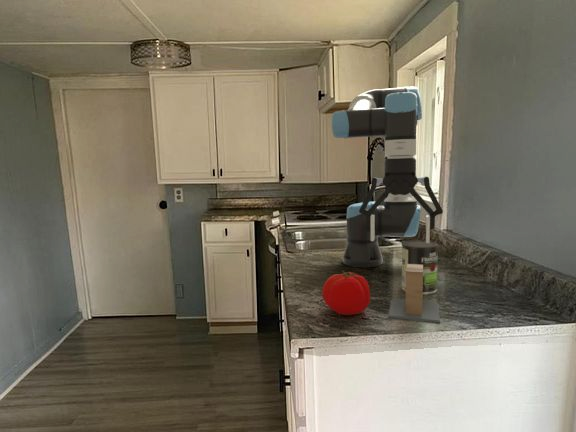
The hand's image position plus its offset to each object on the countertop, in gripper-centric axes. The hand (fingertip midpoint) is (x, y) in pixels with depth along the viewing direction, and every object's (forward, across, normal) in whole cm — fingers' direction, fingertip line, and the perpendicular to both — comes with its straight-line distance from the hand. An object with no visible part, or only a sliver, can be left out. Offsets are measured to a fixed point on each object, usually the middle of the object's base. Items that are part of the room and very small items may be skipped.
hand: (399, 241), depth 97 cm
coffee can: (+19, +5, +18) cm, 26 cm away
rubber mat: (+18, +4, 0) cm, 19 cm away
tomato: (+19, -13, -5) cm, 23 cm away
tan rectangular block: (+18, +4, 0) cm, 18 cm away
